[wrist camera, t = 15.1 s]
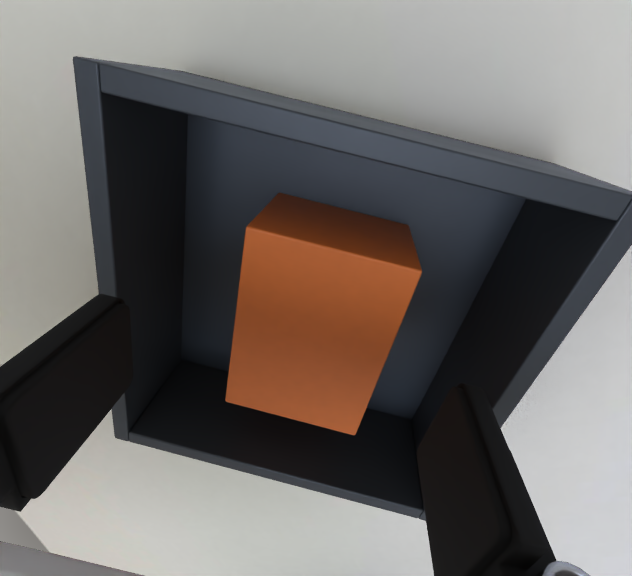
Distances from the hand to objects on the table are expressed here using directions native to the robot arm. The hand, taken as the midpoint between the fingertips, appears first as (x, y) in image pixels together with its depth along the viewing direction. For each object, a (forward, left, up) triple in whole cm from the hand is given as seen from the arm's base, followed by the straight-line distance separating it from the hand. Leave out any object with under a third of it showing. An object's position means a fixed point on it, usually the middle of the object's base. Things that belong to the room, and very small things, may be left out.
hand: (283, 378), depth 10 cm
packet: (0, 0, -5) cm, 5 cm away
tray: (0, 0, -6) cm, 6 cm away
